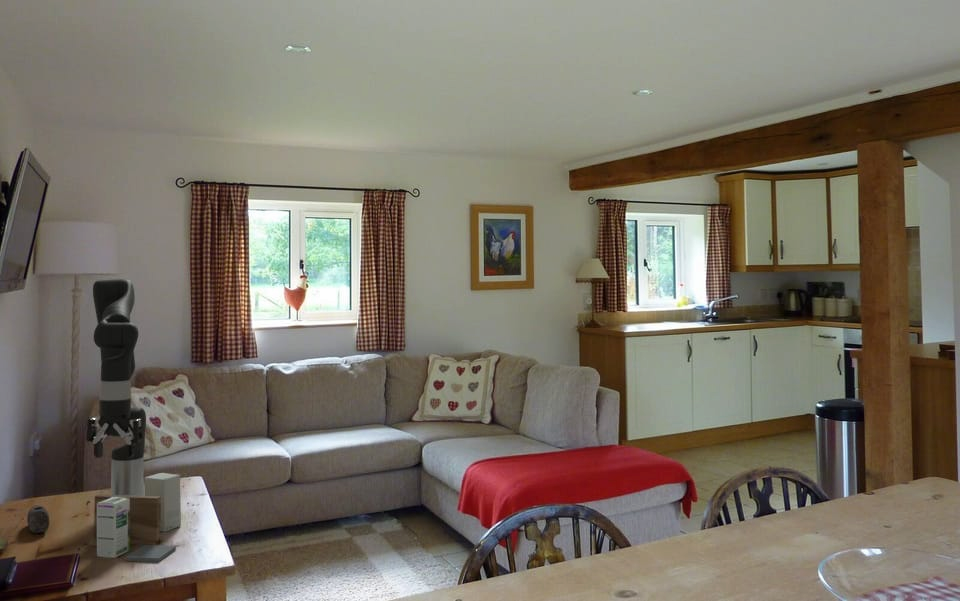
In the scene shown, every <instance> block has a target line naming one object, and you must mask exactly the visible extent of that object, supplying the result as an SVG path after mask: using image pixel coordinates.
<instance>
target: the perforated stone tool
mask: <svg viewBox="0 0 960 601" xmlns="http://www.w3.org/2000/svg"><path fill="white" fill-rule="evenodd" d="M50 520H51V519H50V515H49V511H48V510H47V508H46V507H44V506H42V505H40V504H37V505H34V506H32V507H30V509H29V510H28V512H27V518H26V521H27V522H26V523H27V526H28V529H29V530H30V531H31V532H32V533H33V534H39V533H40V534H41V533H45V532H47V530H48V529H49V527H50Z"/></svg>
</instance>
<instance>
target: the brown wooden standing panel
mask: <svg viewBox="0 0 960 601" xmlns="http://www.w3.org/2000/svg"><path fill="white" fill-rule="evenodd" d="M111 497H124V498H129V499H130V545H139V546H140V545H142V546H143V545H154V546H159V544H161V543H162V542H163V541H165V536H164V535H161V532H162V531H161V496H145V495H144V496H134V495H111V494H103V493H102V494H100V493H99V494H97V495H94V509H93V510H94V517H93V520H94V521H93V522H94V523H93V525H94V526H93V528H94V529H93V531H94V532H93V538H92V539H91V540H89V546H95V547H97V503H98V502H102V501H104V500H107V499H109V498H111Z"/></svg>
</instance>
